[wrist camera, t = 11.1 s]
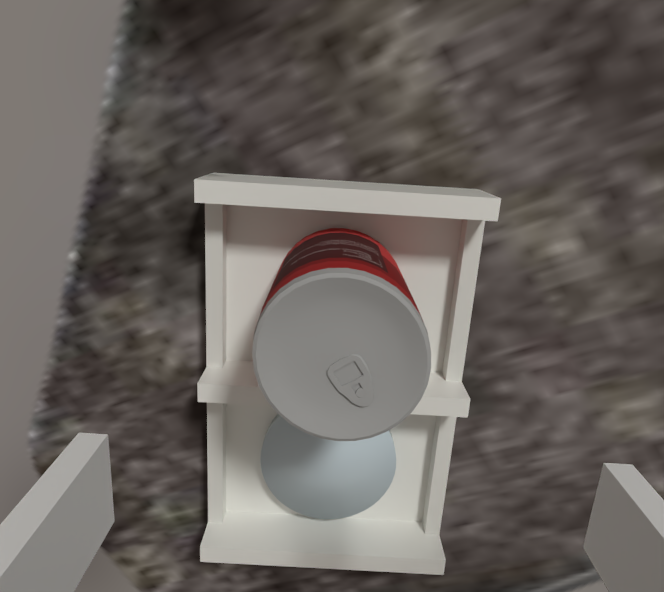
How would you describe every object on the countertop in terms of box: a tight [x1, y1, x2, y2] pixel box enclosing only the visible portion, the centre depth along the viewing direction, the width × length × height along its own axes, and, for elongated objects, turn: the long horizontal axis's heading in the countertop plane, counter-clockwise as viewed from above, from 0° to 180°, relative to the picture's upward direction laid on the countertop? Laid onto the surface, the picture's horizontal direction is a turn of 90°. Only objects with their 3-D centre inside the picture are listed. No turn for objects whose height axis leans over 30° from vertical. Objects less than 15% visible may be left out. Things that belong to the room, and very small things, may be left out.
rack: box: [194, 173, 501, 575], centre depth 34 cm, size 16×25×4 cm, turn 177°
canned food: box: [252, 228, 431, 441], centre depth 28 cm, size 8×8×11 cm
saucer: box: [260, 414, 396, 519], centre depth 36 cm, size 9×9×1 cm
